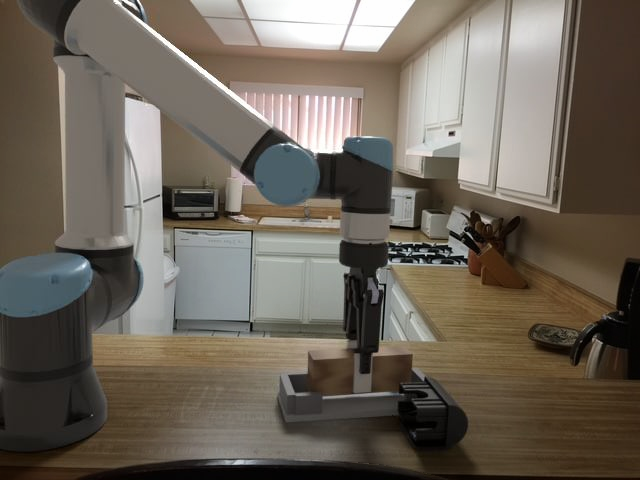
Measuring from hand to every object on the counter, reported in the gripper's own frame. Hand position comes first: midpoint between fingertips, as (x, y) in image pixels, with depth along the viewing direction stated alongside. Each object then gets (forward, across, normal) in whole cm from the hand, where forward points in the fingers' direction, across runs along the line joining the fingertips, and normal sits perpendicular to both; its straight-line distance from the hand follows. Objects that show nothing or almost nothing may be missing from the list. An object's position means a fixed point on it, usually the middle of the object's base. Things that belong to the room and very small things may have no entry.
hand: (357, 384), depth 85 cm
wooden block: (+1, 0, 0) cm, 1 cm away
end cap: (+4, -10, -8) cm, 14 cm away
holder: (+3, 0, 0) cm, 3 cm away
